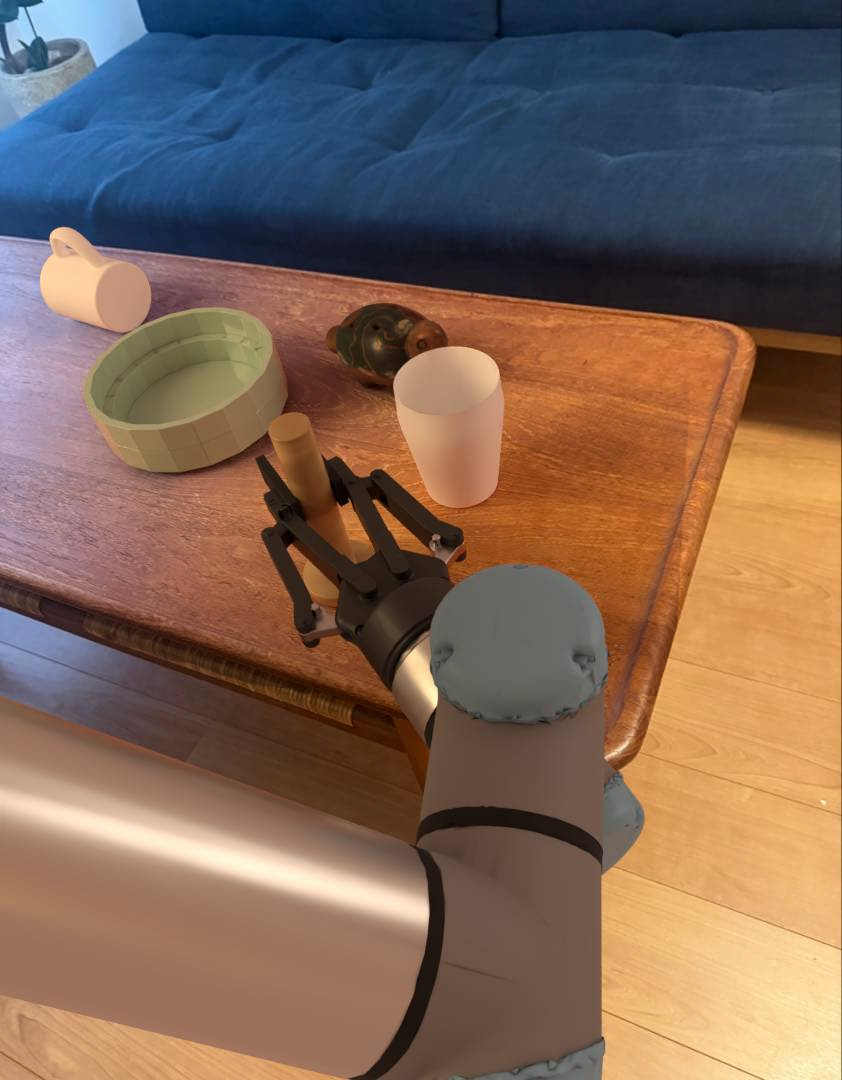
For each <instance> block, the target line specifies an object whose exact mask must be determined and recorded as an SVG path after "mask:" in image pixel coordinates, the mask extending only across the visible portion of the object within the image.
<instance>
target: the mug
mask: <svg viewBox="0 0 842 1080" xmlns="http://www.w3.org/2000/svg"><path fill="white" fill-rule="evenodd" d="M49 243H50V247H51V250H52V252H53V253H52V254H51V255H50V256H49V257H48V258H47V259H46V260H45V262H44V264H43V266H42V268H41V272H40V276H39V286H40V288H39V289H40V293H41V296H42V298H43V301H44V302H45V304H46V305H47V306H48V308H49V309H50V310H51V311H53V312H54V313H55V314H57V315H59V316H62V317H65V318H68V319H72V320H75V321H78V322H82V323H86V324H89V325H91V326H95V327H99V328H102V329H104V330H107V331H108V330H109V331H112V332H115V333H121V334H122V333H123V334H124V333H125V334H126V333H129V332H131V331H133V330H134V329H136V328H138V327H139V326H141V325H142V324H143V322H144V321H145V320H146V318H147V316H148V314H149V312H150V308H151V305H152V290H151V285H150V282H149V279H148V278H147V276H146V274H145V273H144V271H142V269H141V268H140V267H139V266H137V265H136V264H134V263H131V262H128V261H125V260H120V259H116V258H113V257H107V256H104V255H101V254H100V253H99V251H98V250H97V249H96V248H95V246H93V244H91V242H90V241H89V240H88V239H86V237H85V236H83V235H82V234H81V233H80V232H78V231H77V230H76V229H74V228H72V227H68V226H61V227H57V228H55V229H54V230H52V231H51V232H50V235H49ZM67 246H68V247H70V248H67Z"/></svg>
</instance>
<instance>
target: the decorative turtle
mask: <svg viewBox="0 0 842 1080" xmlns="http://www.w3.org/2000/svg"><path fill="white" fill-rule="evenodd" d="M325 345H326V346H327V347H328V349H329V350H330V352H332V353H333V354H335V355H337V356H338V358H339V359H340V362H341V363H342V364H343V366H344V367H345V369H347V370H348V371H349V372H350V374H352V376H353V377H354V379H355V381H356V382H357V383H358V384H359V385H361V386H362V387H363V388H365V389H370V388H373V387H375V386H376V385H379V386H382V387H383V388H385V390H388V392H389V393H390V394H392V395H393V396H394V397H395V395H394V389H393V384H394V379H395V377H396V375H397V373H398V371H399V370H400V369H401V368H402V366H403V365H404V364H406V363H407V362H408V361H409V360H411V359H412V358H414V357H416V356H418V355H420V354H422V353H424V352H427V351H430V350H433V349H437V348H442V347H449V340H448V335H447V333H446V332H445V331H444V329H443V327H442V326H441V325H440V324H439V323H437V322H436V321H434V320H431V319H428V318H427V317H426V316H425V315H423V314H422V313H420V312H419V311H416V310H415V309H413V308H411V307H408V306H405V305H403V304H398V303H394V302H393V303H392V302H377V303H371V304H367V305H364V306H361V307H359V308H357V309H356V310H354V311H352V312H351V313H349V314H348V315H347V316H346V317H345V318H344V319H343V320H342V322H341V323H340V324H337V325H334V326H332V327H330V328H329V329H328V330H327V332H326V334H325Z"/></svg>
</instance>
